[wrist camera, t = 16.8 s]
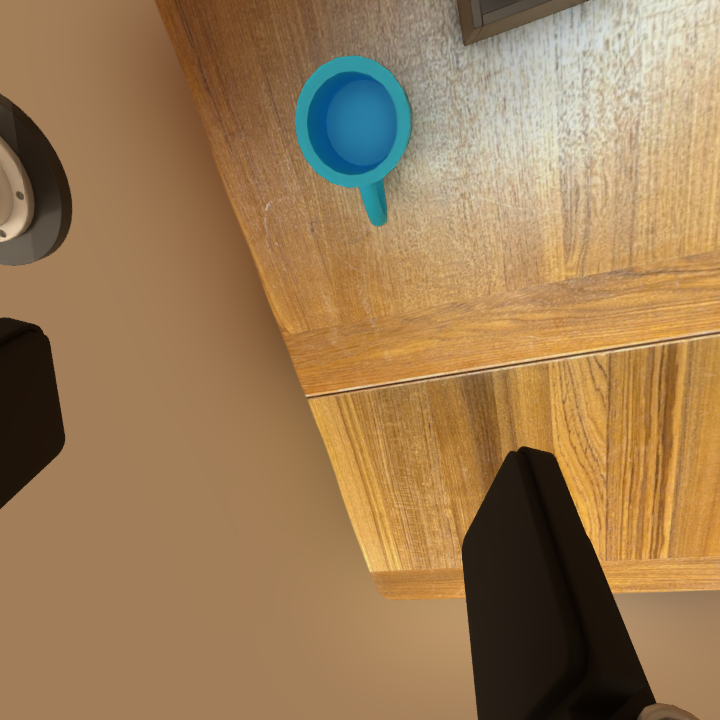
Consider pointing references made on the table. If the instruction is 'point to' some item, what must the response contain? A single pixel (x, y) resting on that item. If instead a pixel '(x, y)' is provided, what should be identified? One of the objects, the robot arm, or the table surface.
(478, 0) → the bin
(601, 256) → the table surface
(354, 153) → the mug
